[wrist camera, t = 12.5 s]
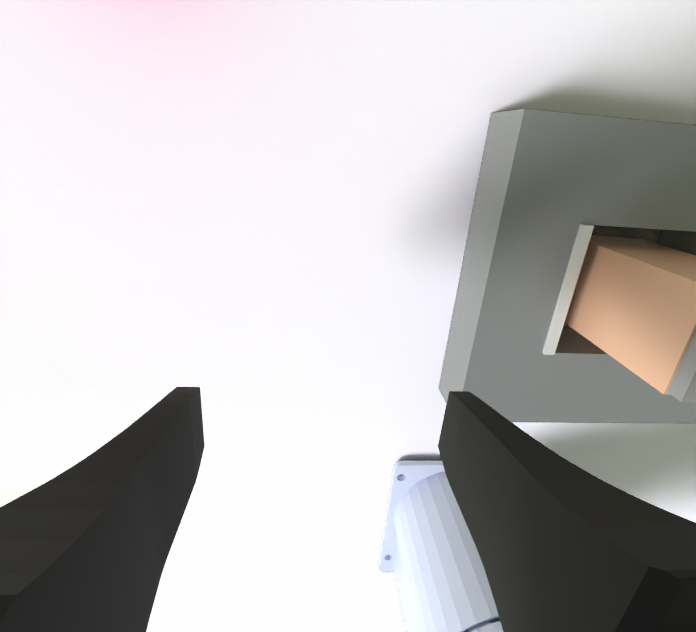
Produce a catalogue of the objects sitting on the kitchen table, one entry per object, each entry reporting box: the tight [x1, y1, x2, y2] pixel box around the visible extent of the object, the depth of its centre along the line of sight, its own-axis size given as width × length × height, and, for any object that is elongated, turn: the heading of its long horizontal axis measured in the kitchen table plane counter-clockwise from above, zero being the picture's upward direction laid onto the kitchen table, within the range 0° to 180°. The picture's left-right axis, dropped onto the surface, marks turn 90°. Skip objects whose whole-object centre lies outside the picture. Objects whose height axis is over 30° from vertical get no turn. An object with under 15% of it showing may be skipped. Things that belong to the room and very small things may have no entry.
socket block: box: [439, 109, 696, 423], centre depth 20 cm, size 14×14×3 cm
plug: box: [564, 235, 696, 402], centre depth 17 cm, size 4×4×9 cm
